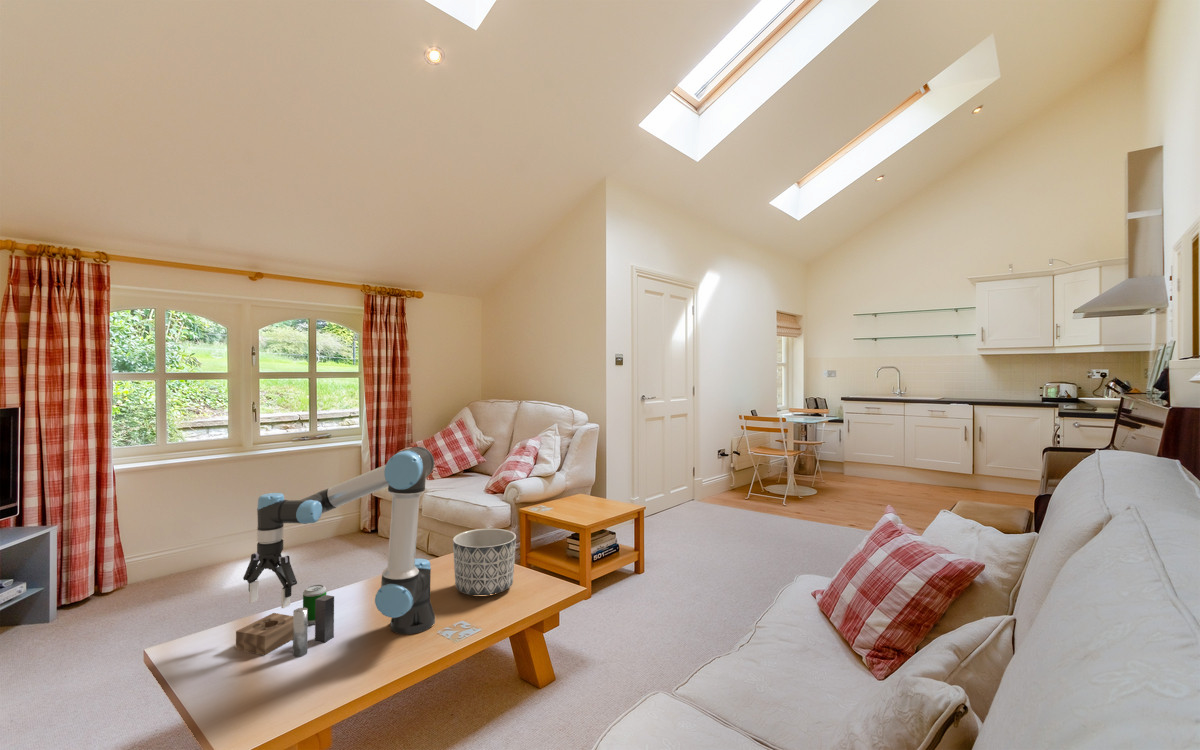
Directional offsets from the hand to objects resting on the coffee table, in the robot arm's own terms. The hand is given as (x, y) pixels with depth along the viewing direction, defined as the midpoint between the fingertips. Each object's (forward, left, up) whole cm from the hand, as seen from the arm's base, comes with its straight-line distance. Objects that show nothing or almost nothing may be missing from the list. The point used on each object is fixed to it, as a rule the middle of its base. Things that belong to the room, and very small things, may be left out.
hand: (269, 604), depth 177 cm
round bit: (-16, +3, -13) cm, 21 cm away
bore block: (0, 0, -13) cm, 13 cm away
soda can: (-2, -17, -13) cm, 21 cm away
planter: (-47, -61, -13) cm, 78 cm away
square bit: (-16, -7, -13) cm, 22 cm away
